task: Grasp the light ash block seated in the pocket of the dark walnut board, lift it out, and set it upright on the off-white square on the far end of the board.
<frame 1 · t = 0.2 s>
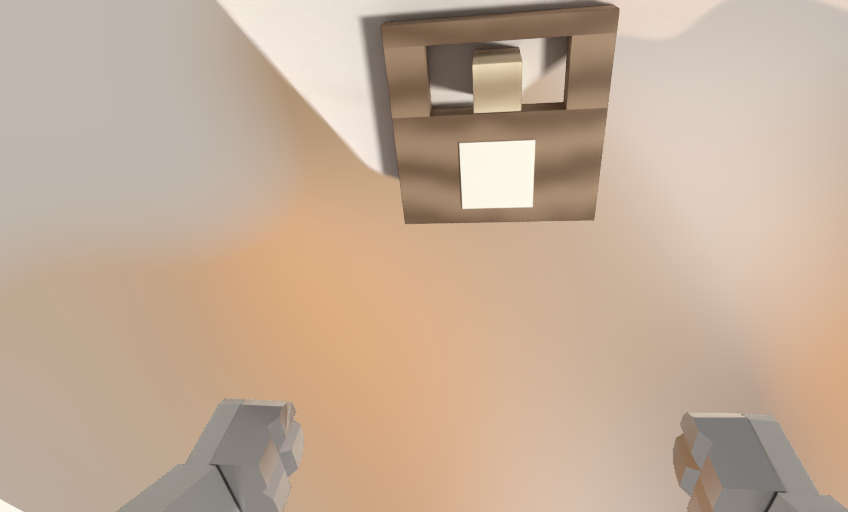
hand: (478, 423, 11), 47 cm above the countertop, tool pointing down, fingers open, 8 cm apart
pocket board: (496, 123, 55), on the countertop
ash block: (496, 71, 52), resting in pocket board
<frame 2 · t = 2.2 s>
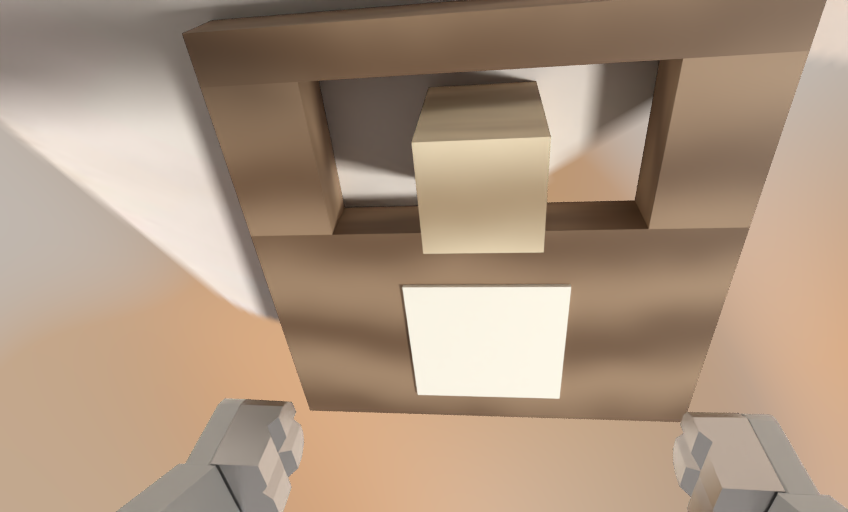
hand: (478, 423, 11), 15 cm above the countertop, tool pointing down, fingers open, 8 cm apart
pocket board: (484, 238, 25), on the countertop
ash block: (482, 135, 22), resting in pocket board
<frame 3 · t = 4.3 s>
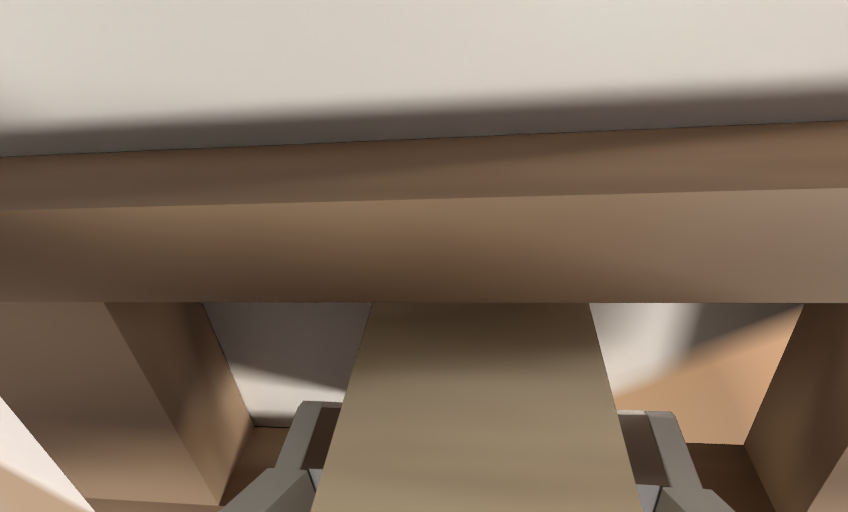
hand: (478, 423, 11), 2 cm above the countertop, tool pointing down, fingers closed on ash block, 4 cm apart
pocket board: (484, 475, 16), on the countertop
ash block: (480, 347, 13), resting in pocket board, touching gripper
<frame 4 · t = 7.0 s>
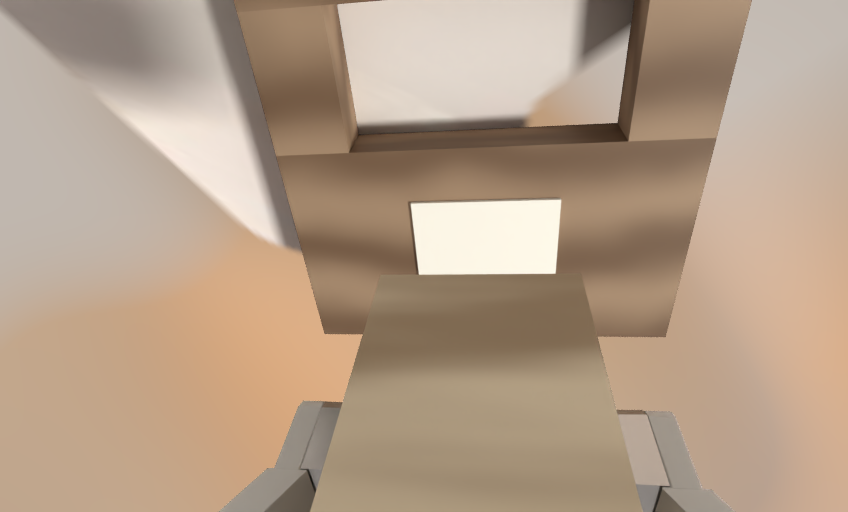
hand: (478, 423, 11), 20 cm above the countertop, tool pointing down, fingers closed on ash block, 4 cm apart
pocket board: (484, 163, 28), on the countertop
ash block: (480, 346, 13), point 17 cm above the countertop, touching gripper
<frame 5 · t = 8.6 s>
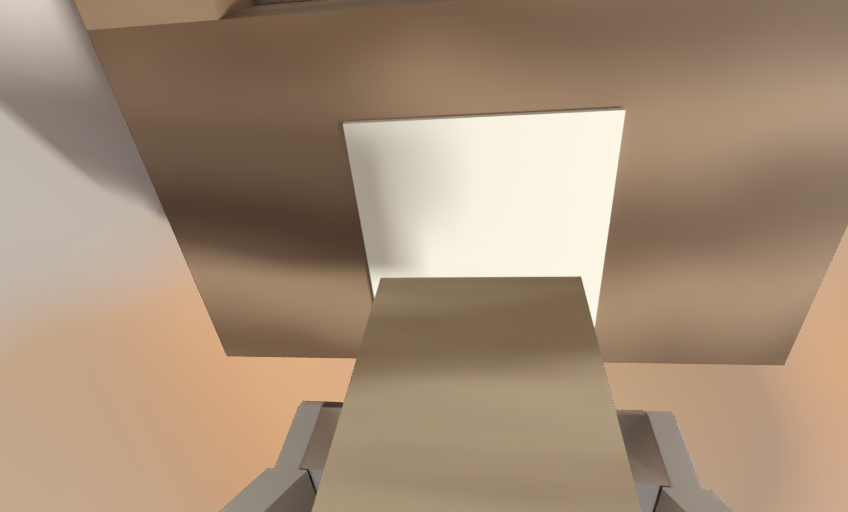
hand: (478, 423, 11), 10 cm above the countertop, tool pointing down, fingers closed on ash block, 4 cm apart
pocket board: (479, 57, 16), on the countertop
ash block: (480, 349, 13), point 8 cm above the countertop, touching gripper
when the fingers open (6 cm above the countertop, at t = 9.7 s): ash block drops 1 cm, resting on pocket board.
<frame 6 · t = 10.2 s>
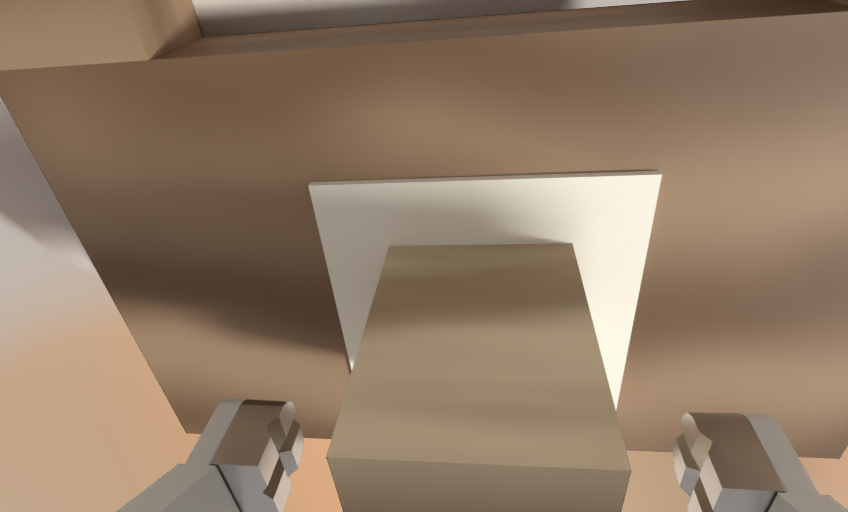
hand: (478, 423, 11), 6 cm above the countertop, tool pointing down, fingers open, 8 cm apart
pocket board: (477, 100, 13), on the countertop
ash block: (480, 314, 14), point 3 cm above the countertop, touching pocket board
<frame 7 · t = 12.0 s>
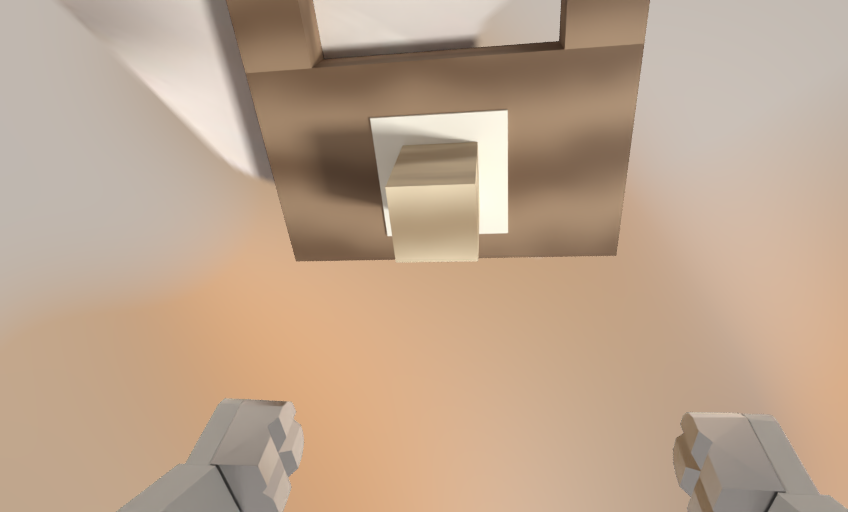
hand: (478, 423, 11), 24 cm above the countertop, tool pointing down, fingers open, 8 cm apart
pocket board: (440, 85, 31), on the countertop
ash block: (442, 178, 31), point 3 cm above the countertop, touching pocket board
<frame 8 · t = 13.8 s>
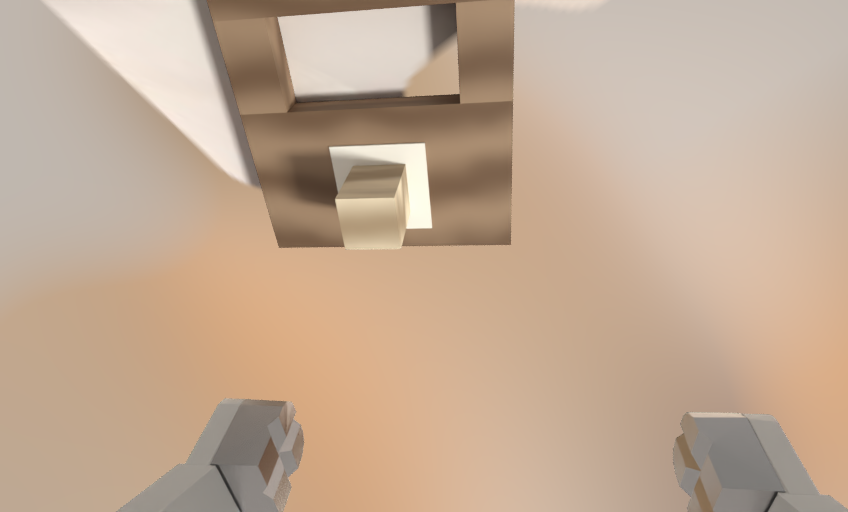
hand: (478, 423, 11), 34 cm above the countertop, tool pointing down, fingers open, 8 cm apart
pocket board: (380, 122, 43), on the countertop
ash block: (382, 189, 43), point 3 cm above the countertop, touching pocket board
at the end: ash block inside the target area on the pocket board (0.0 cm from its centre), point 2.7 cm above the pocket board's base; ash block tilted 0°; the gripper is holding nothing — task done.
